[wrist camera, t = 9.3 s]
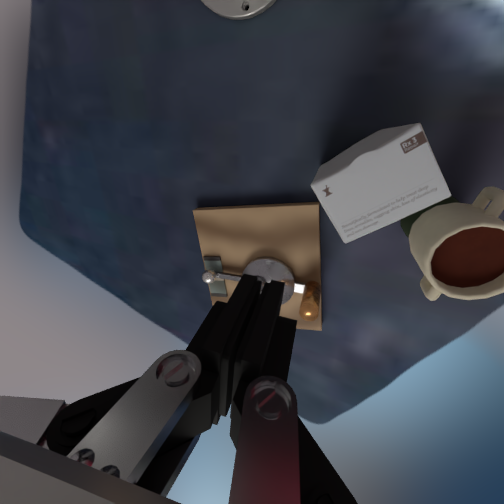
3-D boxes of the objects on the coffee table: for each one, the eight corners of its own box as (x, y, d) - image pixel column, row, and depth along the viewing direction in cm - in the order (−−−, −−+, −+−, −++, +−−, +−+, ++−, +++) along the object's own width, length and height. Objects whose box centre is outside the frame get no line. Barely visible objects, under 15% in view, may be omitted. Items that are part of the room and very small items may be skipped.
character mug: (432, 263, 35) (478, 329, 24) (377, 244, 36) (396, 299, 25) (488, 181, 30) (580, 215, 18) (422, 162, 31) (471, 183, 19)
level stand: (197, 207, 41) (191, 211, 39) (319, 201, 36) (318, 205, 34) (219, 315, 49) (215, 322, 47) (322, 324, 43) (321, 332, 42)
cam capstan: (208, 291, 45) (191, 313, 40) (205, 247, 41) (186, 265, 36) (317, 311, 41) (314, 339, 35) (324, 264, 37) (322, 287, 32)
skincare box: (339, 204, 35) (340, 251, 22) (317, 163, 34) (304, 186, 21) (407, 170, 31) (456, 201, 18) (385, 122, 30) (422, 119, 17)
